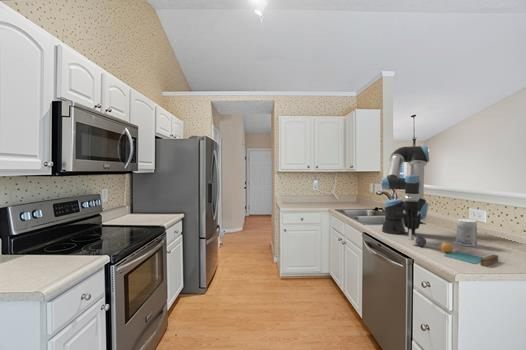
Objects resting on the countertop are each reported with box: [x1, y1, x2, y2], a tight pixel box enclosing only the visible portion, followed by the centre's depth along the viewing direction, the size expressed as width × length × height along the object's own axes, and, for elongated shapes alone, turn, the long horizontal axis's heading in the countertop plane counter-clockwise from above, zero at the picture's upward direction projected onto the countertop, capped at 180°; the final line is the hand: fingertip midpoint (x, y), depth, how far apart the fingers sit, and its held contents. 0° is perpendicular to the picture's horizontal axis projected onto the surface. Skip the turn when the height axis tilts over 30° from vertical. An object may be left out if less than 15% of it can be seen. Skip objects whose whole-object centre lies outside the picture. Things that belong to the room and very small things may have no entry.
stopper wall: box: [480, 254, 499, 267], centre depth 129 cm, size 2×13×3 cm, turn 120°
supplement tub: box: [456, 218, 478, 248], centre depth 160 cm, size 10×10×15 cm
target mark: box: [443, 250, 485, 265], centre depth 138 cm, size 14×14×1 cm
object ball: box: [440, 242, 454, 254], centre depth 146 cm, size 6×6×6 cm
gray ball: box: [414, 236, 427, 247], centre depth 158 cm, size 6×6×6 cm
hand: (411, 239), depth 162 cm, fingers closed
